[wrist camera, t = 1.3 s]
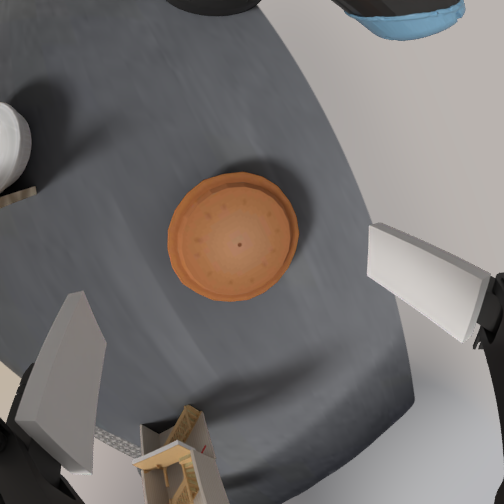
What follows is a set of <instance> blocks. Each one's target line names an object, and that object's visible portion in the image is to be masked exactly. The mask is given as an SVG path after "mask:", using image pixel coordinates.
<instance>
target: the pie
mask: <svg viewBox="0 0 504 504" xmlns="http://www.w3.org/2000/svg"><path fill="white" fill-rule="evenodd" d="M298 238H299V228H298V222H297V216H296V214H295V212H294V210H293V207H292V205H291V203H290V201H289V200H288V198H287V197H286V196H285V194H284V193H283V192H282V191H281V189H280V188H279V187H278V186H277V185H275V184H274V183H272V182H271V181H269V180H267V179H266V178H264V177H263V176H259V175H255V174H251V173H247V172H235V173H227V174H221V175H218V176H215V177H211V178H208V179H205V180H203V181H202V182H200V183H199V184H198V185H197V186H195V187H194V188H193V189H192V190H190V191H189V192H188V193H187V194H186V195H185V197H184V198H183V200H182V201H181V202H180V204H179V205H178V206H177V208H176V209H175V211H174V214H173V217H172V220H171V222H170V225H169V228H168V253H169V257H170V261H171V264H172V268H173V270H174V271H175V273H176V274H177V276H178V277H179V279H180V281H181V282H182V283H183V284H184V285H186V286H187V287H189V288H190V289H192V290H193V291H195V292H196V293H198V294H200V295H203V296H205V297H207V298H209V299H212V300H217V301H229V302H232V301H242V300H249V299H251V298H253V297H255V296H258V295H260V294H262V293H264V292H266V291H267V290H268V289H269V288H270V287H272V286H273V285H274V284H275V283H277V282H278V281H279V279H280V278H281V277H282V275H283V274H284V273H285V271H286V270H287V269H288V267H289V265H290V263H291V261H292V258H293V256H294V254H295V251H296V247H297V243H298Z"/></svg>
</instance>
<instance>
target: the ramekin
mask: <svg viewBox="0 0 504 504" xmlns="http://www.w3.org/2000/svg"><path fill="white" fill-rule="evenodd" d="M31 140H32V139H31V133H30V129H29V125H28V123H27V121H26V120H25V118H23V116H22V115H20V114H19V113H18V112H17V111H16V110H15V109H14V108H13V107H12V106H10V105H9V104H7V103H4V102H0V193H1V192H2V191H4V190H5V189H6V188H7V187H9V186H10V185H12V184H13V183H14V182H15V181H16V180H17V179H18V178H19V177H20V175H21V174H22V173H23V171H24V170H25V167H26V165H27V163H28V160H29V157H30V152H31V145H32V143H31Z"/></svg>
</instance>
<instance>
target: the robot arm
mask: <svg viewBox="0 0 504 504" xmlns="http://www.w3.org/2000/svg"><path fill="white" fill-rule="evenodd" d="M166 1H167V2H169V3H170V4H172V5H173V6H175V7H177V8H179V9H181V10H184V11H187V12H190V13H194V14H199V15H206V16H225V15H232V14H237V13H241V12H243V11H246V10H248V9H250V8H252V7H254V6H255V5H257V4H258V3H259V2H260V1H261V0H166ZM332 1H333V2H334V3H336V4H337V5H338V6H340V7H341V8H342V9H343V10H344V12H345V13H346V14H347V15H348V16H350V17H352V18H354V19H356V20H357V21H358V22H360V23H361V24H362V25H363V26H365V27H366V28H367V29H368V30H370V31H371V32H372V33H374V34H375V35H377V36H379V37H381V38H384V39H389V40H398V41H405V40H414V39H419V38H424V37H427V36H430V35H433V34H436V33H439V32H441V31H443V30H446V29H447V28H449V27H451V26H452V25H454V24H455V23H456V22H457V19H458V18H462V16H463V15H464V13H465V4H464V1H463V0H332ZM490 275H491V274H490V273H488V272H486V271H485V270H482V269H481V268H479V267H476V266H475V265H473V264H471V263H469V262H467V261H465V260H463V259H461V258H459V257H457V256H455V255H453V254H451V253H449V252H446V251H444V250H442V249H440V248H438V247H436V246H434V245H431V244H429V243H427V242H425V241H423V240H420V239H418V238H416V237H413V236H411V235H409V234H407V233H404V232H402V231H400V230H397V229H395V228H393V227H390V226H388V225H385V224H383V223H376V224H371V225H369V246H368V266H367V276H368V277H370V278H371V279H373V280H374V281H376V282H377V283H379V284H380V285H382V286H383V287H384V288H386V289H387V290H389V291H390V292H392V293H393V294H395V295H396V296H397V297H399V298H400V299H402V300H403V301H405V302H406V303H408V304H409V305H410V306H412V307H413V308H414V309H416V310H417V311H419V312H420V313H422V314H423V315H424V316H426V317H427V318H429V319H430V320H431V321H433V322H434V323H435V324H437V325H438V326H439V327H441V328H442V329H444V330H445V331H446V332H447V333H449V334H450V335H451V336H453V337H454V338H455V339H457V340H458V341H459V342H461V343H463V342H464V341H466V340H467V339H468V338H469V337H471V336H472V334H473V331H474V328H475V325H476V323H478V324H480V325H481V326H480V329H479V332H478V334H477V337H476V339H475V342H474V344H473V349H476V346H477V344H478V342H481V343H480V345H479V349H484V352H485V356H486V359H487V363H488V366H489V370H490V374H491V378H492V383H493V387H494V392H495V396H496V401H497V407H498V413H499V419H500V425H501V434H502V443H503V455H504V273H499V274H497V275H496V278H494V277H492V276H490ZM106 345H107V343H106V341H105V339H104V337H103V335H102V333H101V331H100V328H99V326H98V324H97V322H96V319H95V317H94V315H93V313H92V310H91V308H90V306H89V303H88V301H87V298H86V296H85V293H84V291H80V292H76V293H71V294H68V296H67V298H66V299H65V301H64V303H63V305H62V307H61V309H60V311H59V313H58V315H57V317H56V319H55V321H54V323H53V325H52V327H51V329H50V331H49V333H48V335H47V337H46V339H45V341H44V344H43V346H42V348H41V350H40V353H39V355H38V357H37V360H36V362H35V363H32V364H31V365H30V366H29V368H28V369H27V370H26V371H25V373H24V375H23V377H22V379H21V382H20V386H19V387H18V390H17V392H16V394H17V395H15V398H14V401H13V403H12V406H11V409H10V412H9V415H8V418H7V422H6V423H5V422H4V421H3V420H2V419H1V418H0V504H85V503H84V502H83V501H82V499H81V498H80V497H79V496H78V494H77V493H76V492H75V491H74V489H73V488H72V487H71V485H70V484H69V483H68V481H67V480H66V479H65V478H64V477H63V476H62V475H61V474H60V471H61V466H63V467H64V468H65V469H67V470H68V471H69V472H70V473H72V474H82V475H92V468H93V444H94V431H95V420H96V410H97V402H98V394H99V387H100V380H101V373H102V367H103V361H104V356H105V350H106ZM494 504H504V479H503V482H502V484H501V485H500V487H499V489H498V491H497V494H496V496H495V502H494Z"/></svg>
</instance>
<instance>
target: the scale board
mask: <svg viewBox="0 0 504 504" xmlns="http://www.w3.org/2000/svg"><path fill="white" fill-rule="evenodd" d="M36 194H37V192H36V186H34V187H31V188H28V189H24V190H21V191H18V192H15V193H12V194H8V195H5V196H2V197H0V208H2V207H5V206H7V205H10V204H12V203H15V202H17V201H20V200H22V199H25V198H28V197H30V196H33V195H36Z"/></svg>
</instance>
